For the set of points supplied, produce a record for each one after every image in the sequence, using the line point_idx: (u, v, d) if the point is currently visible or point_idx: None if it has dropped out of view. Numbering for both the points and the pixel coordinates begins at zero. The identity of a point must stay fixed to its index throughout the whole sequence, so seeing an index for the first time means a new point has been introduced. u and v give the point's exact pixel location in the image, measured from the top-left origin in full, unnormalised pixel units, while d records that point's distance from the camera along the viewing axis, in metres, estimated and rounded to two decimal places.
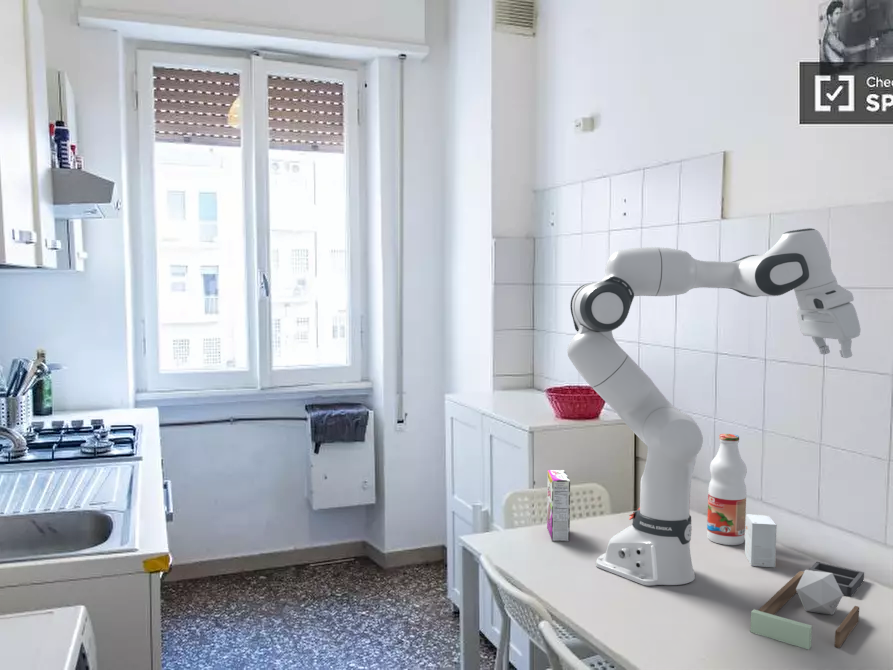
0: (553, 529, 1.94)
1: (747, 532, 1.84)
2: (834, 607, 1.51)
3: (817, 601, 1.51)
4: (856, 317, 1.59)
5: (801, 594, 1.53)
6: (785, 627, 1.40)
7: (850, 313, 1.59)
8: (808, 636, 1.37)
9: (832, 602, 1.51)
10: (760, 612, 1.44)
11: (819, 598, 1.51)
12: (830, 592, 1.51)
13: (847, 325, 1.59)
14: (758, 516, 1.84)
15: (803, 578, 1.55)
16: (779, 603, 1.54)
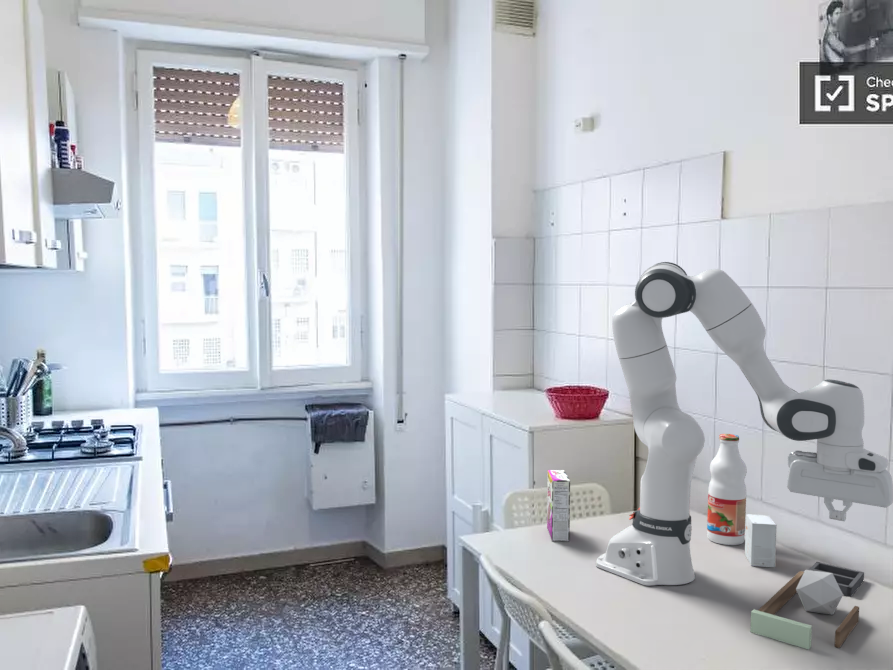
0: (553, 529, 1.94)
1: (747, 532, 1.84)
2: (834, 607, 1.51)
3: (817, 601, 1.51)
4: (892, 485, 1.55)
5: (801, 594, 1.53)
6: (785, 627, 1.40)
7: (890, 480, 1.54)
8: (808, 636, 1.37)
9: (832, 602, 1.51)
10: (760, 612, 1.44)
11: (819, 598, 1.51)
12: (830, 592, 1.51)
13: (891, 492, 1.53)
14: (758, 516, 1.84)
15: (803, 578, 1.55)
16: (779, 603, 1.54)
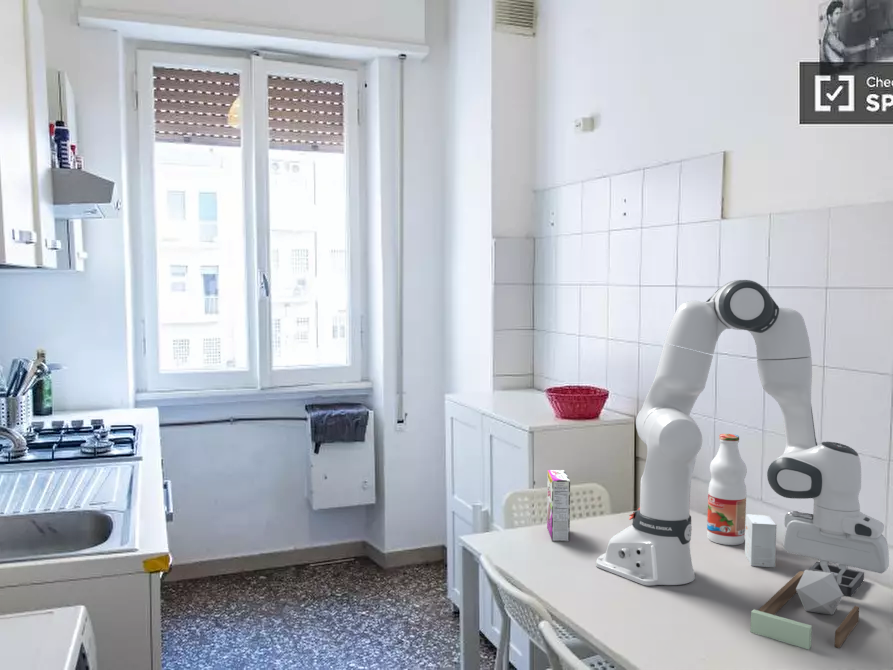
0: (553, 529, 1.94)
1: (747, 532, 1.84)
2: (834, 607, 1.52)
3: (817, 601, 1.51)
4: (888, 550, 1.56)
5: (801, 594, 1.53)
6: (785, 627, 1.40)
7: (886, 545, 1.55)
8: (808, 636, 1.37)
9: (832, 602, 1.51)
10: (760, 612, 1.44)
11: (819, 598, 1.51)
12: (830, 592, 1.51)
13: (886, 558, 1.54)
14: (758, 516, 1.84)
15: (803, 578, 1.55)
16: (779, 603, 1.54)
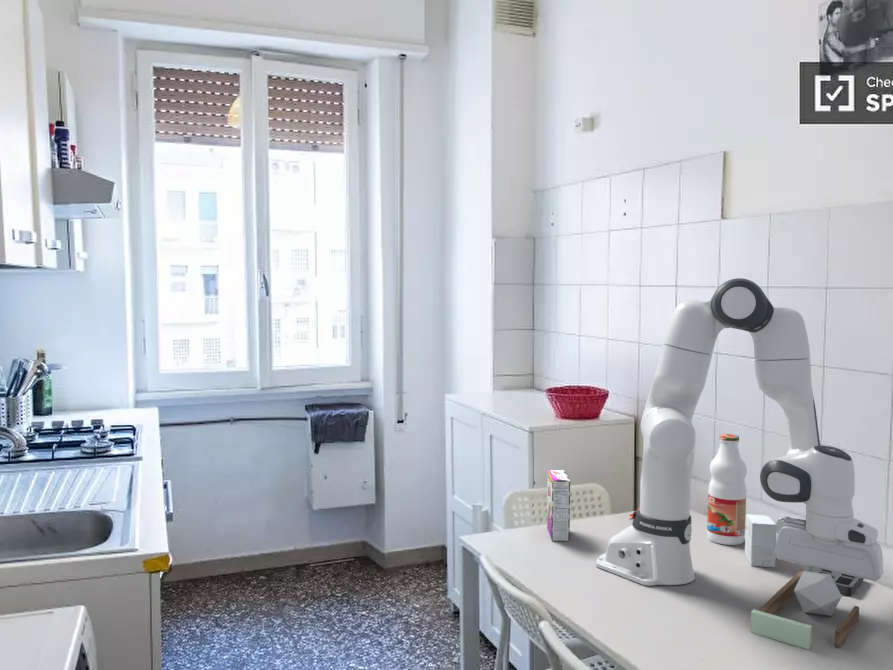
0: (553, 529, 1.94)
1: (747, 532, 1.84)
2: (833, 608, 1.51)
3: (816, 603, 1.50)
4: (882, 557, 1.51)
5: (800, 596, 1.52)
6: (785, 627, 1.40)
7: (880, 552, 1.51)
8: (808, 636, 1.37)
9: (831, 604, 1.50)
10: (760, 612, 1.44)
11: (818, 600, 1.50)
12: (829, 594, 1.50)
13: (881, 565, 1.50)
14: (758, 516, 1.84)
15: (801, 580, 1.54)
16: (779, 603, 1.54)
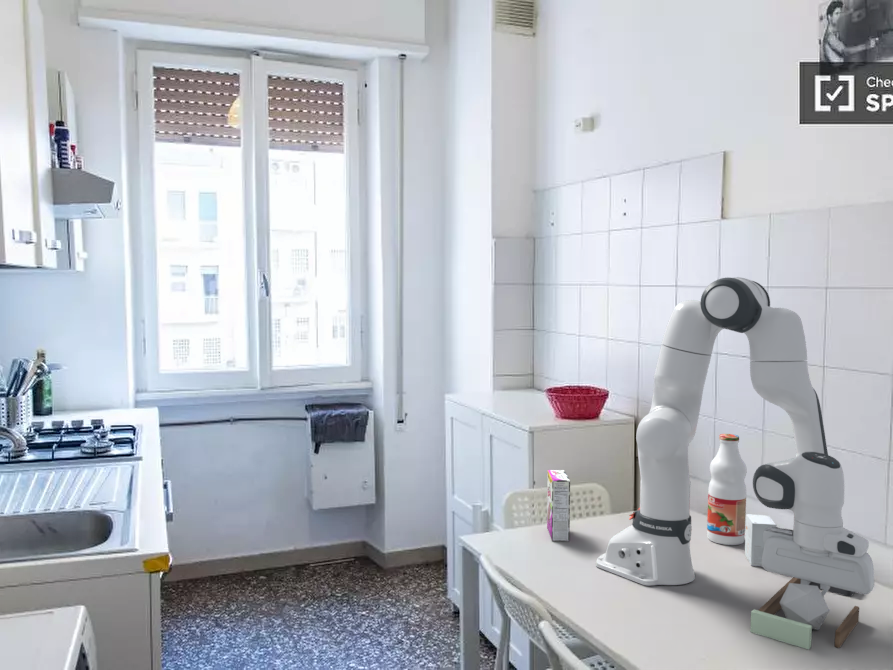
0: (553, 529, 1.94)
1: (747, 532, 1.84)
2: (820, 622, 1.44)
3: (804, 617, 1.43)
4: (873, 569, 1.45)
5: (786, 610, 1.46)
6: (785, 627, 1.40)
7: (871, 564, 1.44)
8: (808, 636, 1.37)
9: (818, 618, 1.43)
10: (760, 612, 1.44)
11: (805, 614, 1.43)
12: (816, 608, 1.43)
13: (871, 578, 1.43)
14: (758, 516, 1.84)
15: (788, 592, 1.47)
16: (779, 603, 1.54)
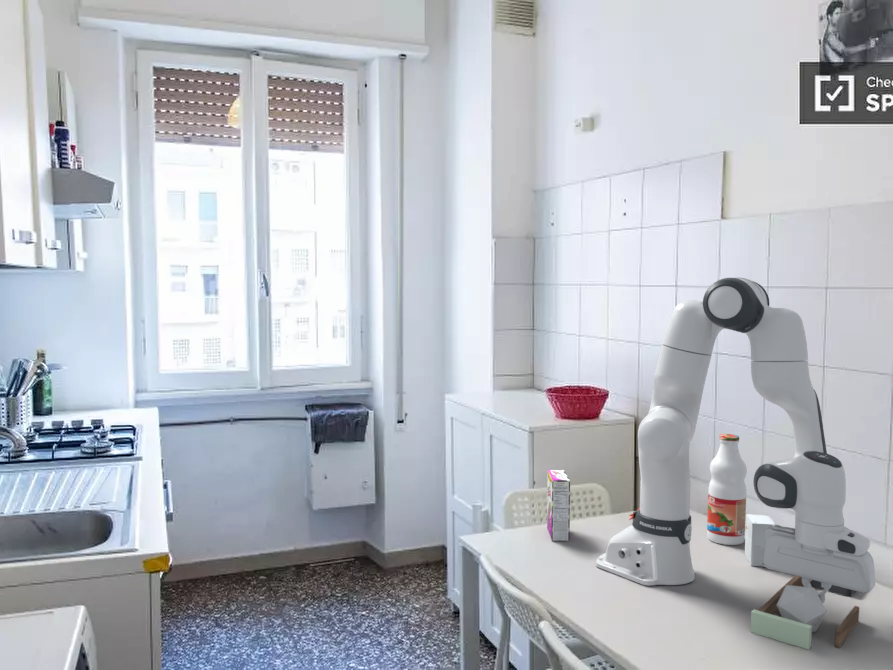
0: (553, 529, 1.94)
1: (747, 532, 1.84)
2: (817, 624, 1.43)
3: (800, 619, 1.42)
4: (874, 568, 1.45)
5: (783, 611, 1.45)
6: (785, 627, 1.40)
7: (872, 563, 1.45)
8: (808, 636, 1.37)
9: (815, 619, 1.43)
10: (760, 612, 1.44)
11: (802, 616, 1.42)
12: (813, 609, 1.43)
13: (872, 576, 1.44)
14: (758, 516, 1.84)
15: (784, 594, 1.46)
16: None
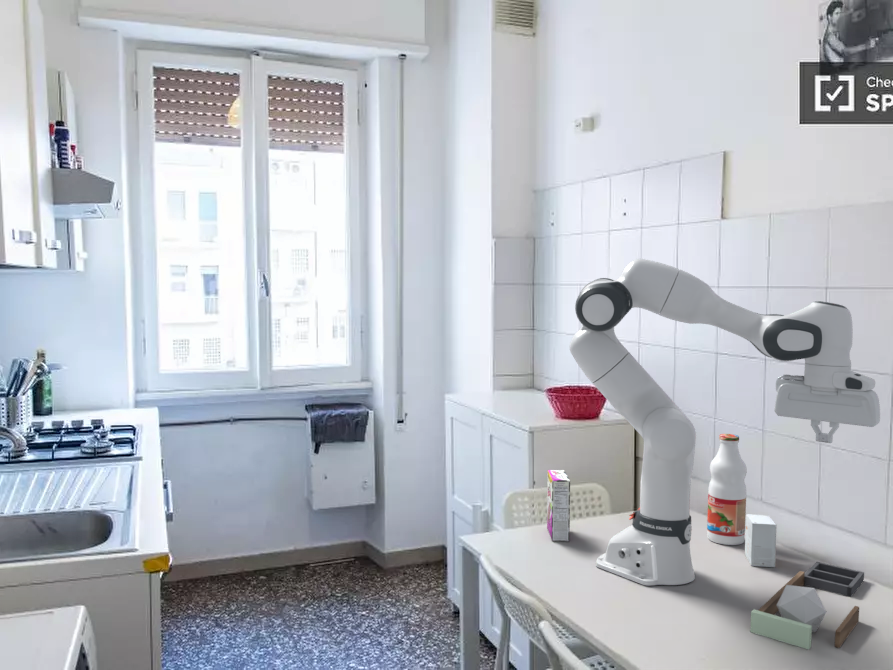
0: (553, 529, 1.94)
1: (747, 532, 1.84)
2: (817, 624, 1.43)
3: (800, 618, 1.42)
4: (879, 405, 1.54)
5: (783, 611, 1.45)
6: (785, 627, 1.40)
7: (877, 400, 1.54)
8: (808, 636, 1.37)
9: (815, 619, 1.43)
10: (760, 612, 1.44)
11: (802, 616, 1.42)
12: (813, 609, 1.43)
13: (877, 411, 1.53)
14: (758, 516, 1.84)
15: (784, 594, 1.46)
16: None
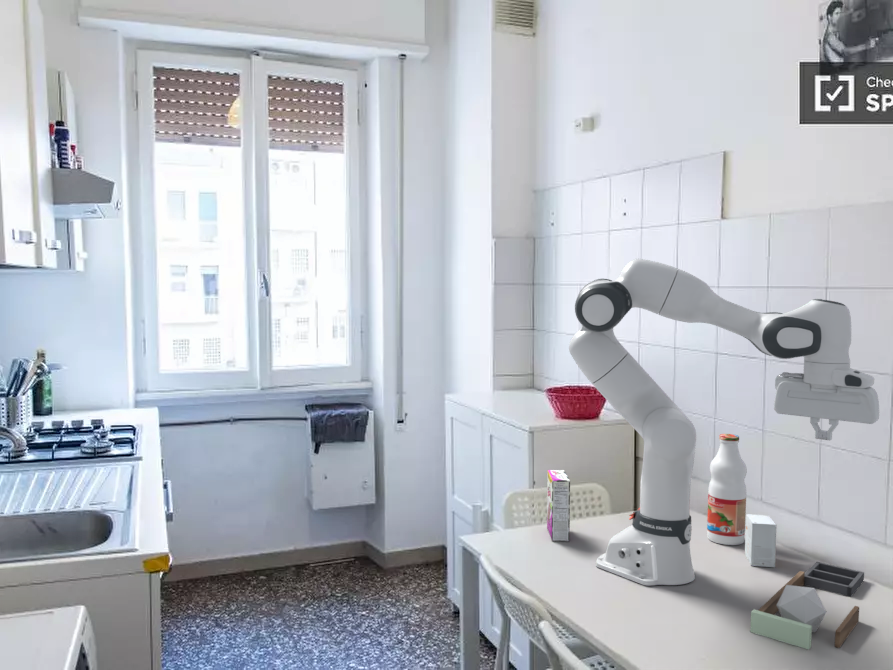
0: (553, 529, 1.94)
1: (747, 532, 1.84)
2: (817, 624, 1.43)
3: (800, 618, 1.42)
4: (878, 402, 1.55)
5: (783, 611, 1.45)
6: (785, 627, 1.40)
7: (876, 397, 1.54)
8: (808, 636, 1.37)
9: (815, 619, 1.43)
10: (760, 612, 1.44)
11: (802, 616, 1.42)
12: (813, 609, 1.43)
13: (876, 408, 1.53)
14: (758, 516, 1.84)
15: (784, 594, 1.46)
16: None
